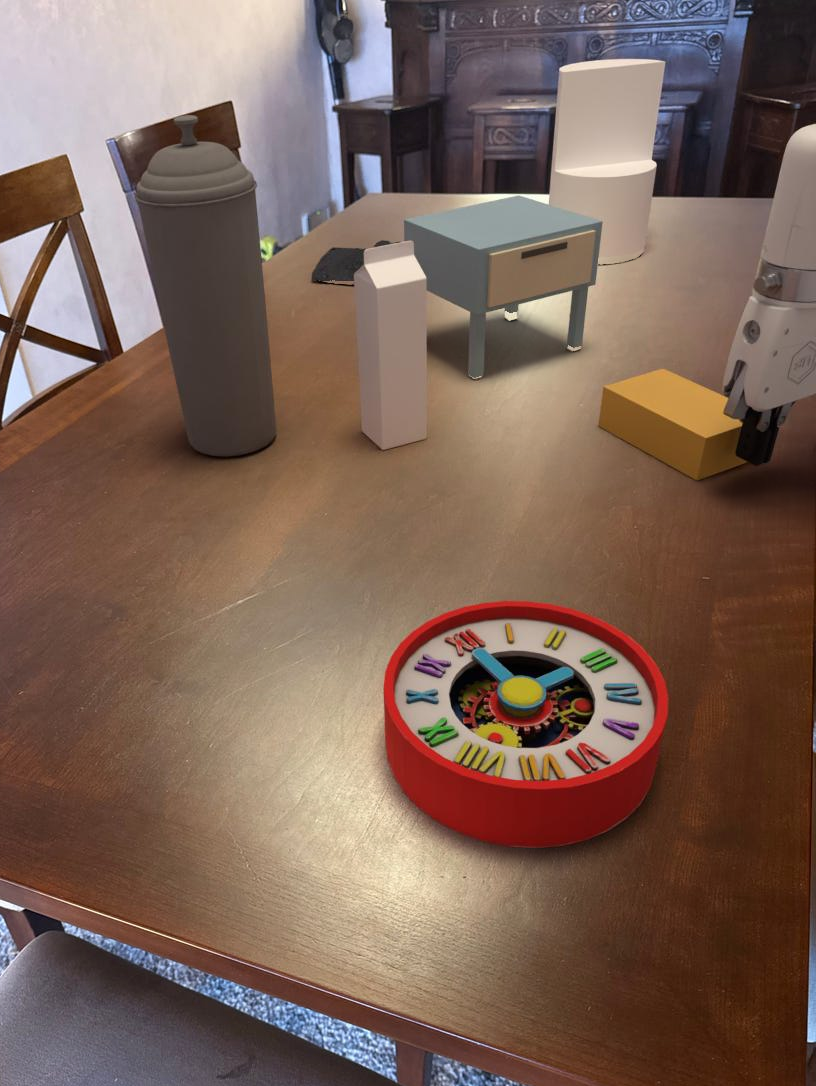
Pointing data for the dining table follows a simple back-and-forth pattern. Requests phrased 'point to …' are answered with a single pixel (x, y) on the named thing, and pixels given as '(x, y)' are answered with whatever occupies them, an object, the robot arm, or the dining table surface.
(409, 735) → the toy clock
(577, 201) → the cylinder
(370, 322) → the milk
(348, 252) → the dark slate chunk
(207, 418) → the canister
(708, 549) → the dining table surface
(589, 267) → the drawer unit
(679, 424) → the yellow rectangular block
